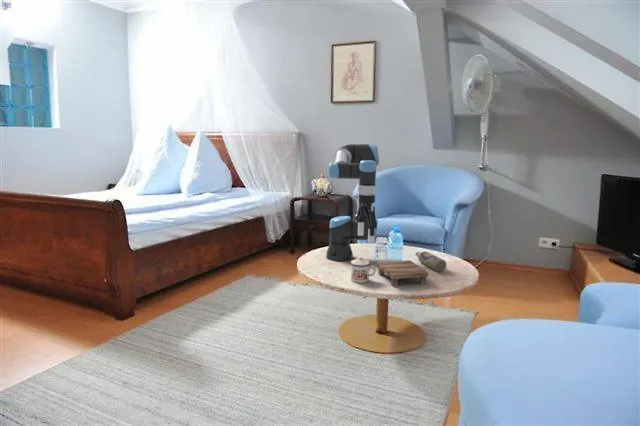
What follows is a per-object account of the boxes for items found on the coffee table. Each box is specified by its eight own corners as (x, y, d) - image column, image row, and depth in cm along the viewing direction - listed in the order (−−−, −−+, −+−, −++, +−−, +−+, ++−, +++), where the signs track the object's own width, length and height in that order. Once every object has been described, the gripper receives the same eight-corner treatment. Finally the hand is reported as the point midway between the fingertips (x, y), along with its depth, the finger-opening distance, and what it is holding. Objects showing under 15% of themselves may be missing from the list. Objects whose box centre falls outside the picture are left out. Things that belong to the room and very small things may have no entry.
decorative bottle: (447, 271, 221) (447, 259, 220) (433, 272, 220) (434, 260, 218) (422, 257, 246) (423, 246, 245) (410, 258, 244) (411, 247, 243)
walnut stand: (376, 273, 216) (376, 262, 215) (409, 271, 221) (409, 260, 220) (392, 287, 197) (392, 274, 196) (427, 284, 202) (428, 272, 201)
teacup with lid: (350, 283, 202) (350, 259, 200) (350, 276, 211) (350, 254, 209) (375, 284, 202) (376, 260, 200) (374, 277, 211) (375, 254, 208)
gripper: (350, 190, 210) (349, 233, 214) (369, 198, 186) (367, 246, 190) (364, 190, 212) (363, 232, 216) (385, 198, 188) (383, 245, 192)
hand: (365, 238), depth 203 cm, fingers open, 13 cm apart
